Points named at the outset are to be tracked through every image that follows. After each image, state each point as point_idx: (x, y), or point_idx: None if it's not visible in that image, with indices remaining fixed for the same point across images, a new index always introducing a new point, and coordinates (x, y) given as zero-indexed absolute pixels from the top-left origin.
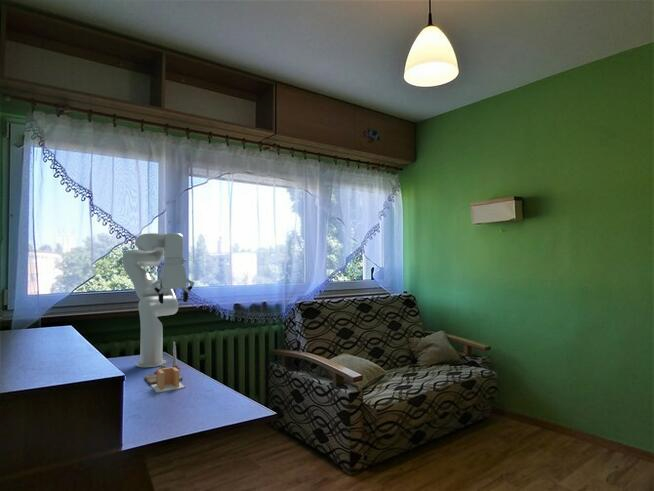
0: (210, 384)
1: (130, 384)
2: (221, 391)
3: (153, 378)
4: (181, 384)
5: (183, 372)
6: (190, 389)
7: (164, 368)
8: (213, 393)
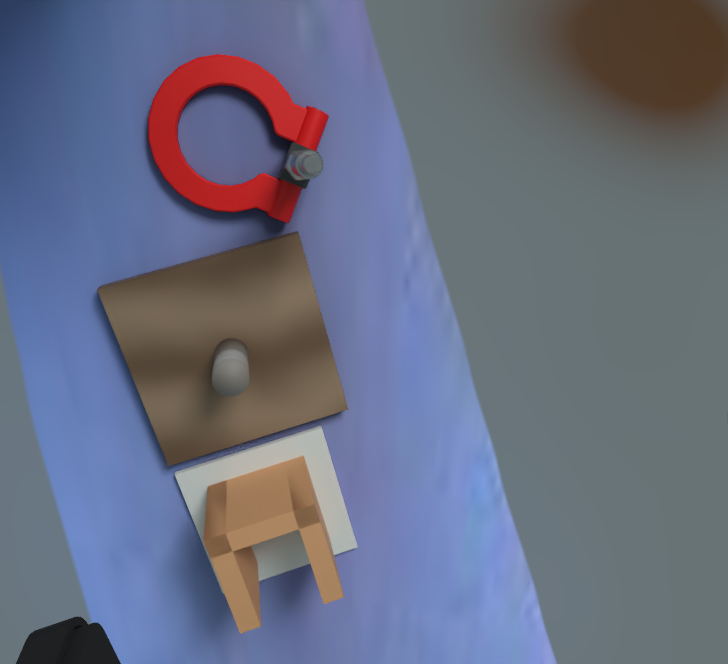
0: (478, 515)
1: (35, 404)
2: (507, 624)
3: (171, 376)
4: (341, 504)
5: (351, 214)
6: (382, 571)
7: (251, 530)
8: (473, 642)
